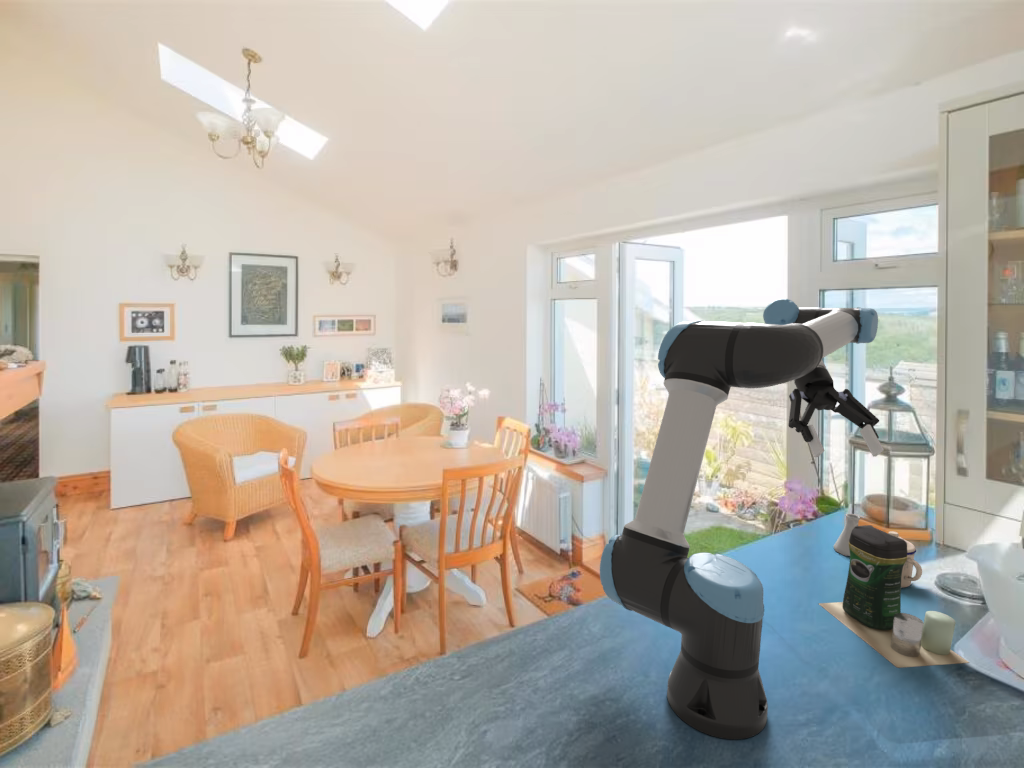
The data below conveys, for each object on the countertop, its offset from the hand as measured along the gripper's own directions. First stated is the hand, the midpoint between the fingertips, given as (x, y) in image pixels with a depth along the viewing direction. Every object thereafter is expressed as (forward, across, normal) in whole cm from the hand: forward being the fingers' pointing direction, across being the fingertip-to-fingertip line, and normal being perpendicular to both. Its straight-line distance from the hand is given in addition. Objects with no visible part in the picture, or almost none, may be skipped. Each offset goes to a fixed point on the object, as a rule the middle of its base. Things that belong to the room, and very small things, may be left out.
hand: (849, 453), depth 118 cm
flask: (+8, -20, -38) cm, 44 cm away
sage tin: (+37, -5, -8) cm, 38 cm away
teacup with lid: (+19, -19, -27) cm, 38 cm away
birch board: (+34, 0, -13) cm, 36 cm away
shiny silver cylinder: (+37, +1, -8) cm, 38 cm away
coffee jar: (+30, 0, -15) cm, 33 cm away
